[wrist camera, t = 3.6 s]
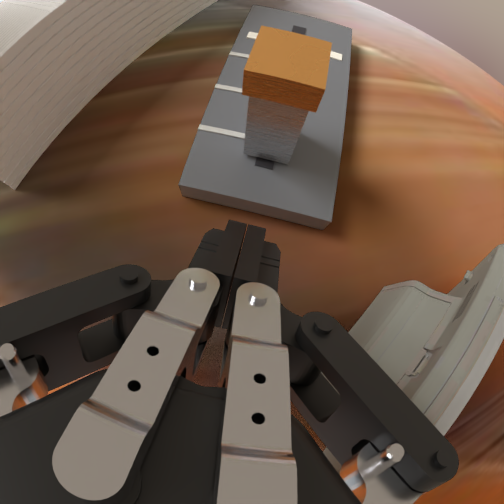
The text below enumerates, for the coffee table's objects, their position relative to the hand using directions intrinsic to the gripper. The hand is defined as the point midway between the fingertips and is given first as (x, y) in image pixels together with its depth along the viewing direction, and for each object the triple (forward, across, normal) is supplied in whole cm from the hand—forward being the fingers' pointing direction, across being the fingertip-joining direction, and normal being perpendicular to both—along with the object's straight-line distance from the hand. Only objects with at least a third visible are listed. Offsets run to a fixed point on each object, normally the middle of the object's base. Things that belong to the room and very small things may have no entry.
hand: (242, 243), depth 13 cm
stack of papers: (+19, +19, -7) cm, 28 cm away
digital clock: (+3, -12, +9) cm, 15 cm away
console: (+16, 0, -5) cm, 17 cm away
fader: (+10, 0, -2) cm, 11 cm away
